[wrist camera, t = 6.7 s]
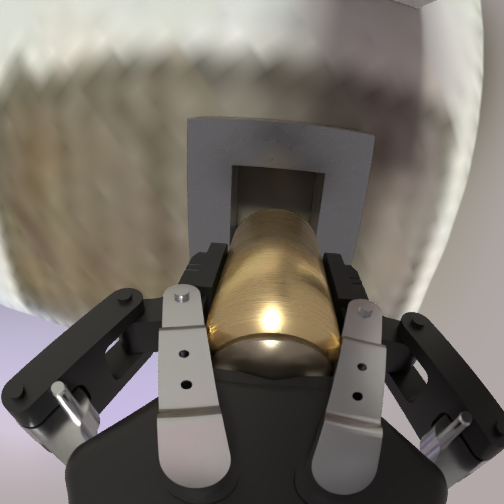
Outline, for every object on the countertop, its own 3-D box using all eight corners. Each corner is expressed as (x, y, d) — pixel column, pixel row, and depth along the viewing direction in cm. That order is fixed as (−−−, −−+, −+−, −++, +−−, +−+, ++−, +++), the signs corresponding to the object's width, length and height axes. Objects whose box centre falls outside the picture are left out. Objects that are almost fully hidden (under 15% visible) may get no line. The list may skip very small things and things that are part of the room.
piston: (233, 204, 14) (185, 319, 7) (323, 213, 14) (368, 333, 6) (231, 281, 16) (198, 412, 9) (310, 288, 16) (326, 422, 9)
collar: (202, 116, 20) (187, 118, 17) (358, 130, 20) (375, 135, 16) (202, 254, 26) (191, 278, 22) (335, 265, 25) (343, 291, 22)
